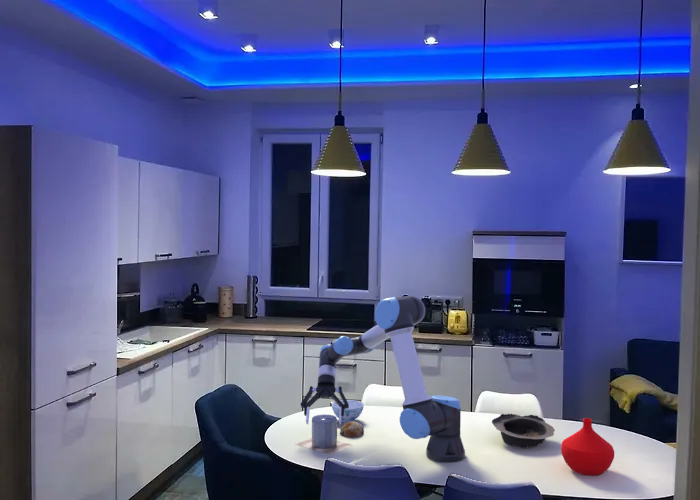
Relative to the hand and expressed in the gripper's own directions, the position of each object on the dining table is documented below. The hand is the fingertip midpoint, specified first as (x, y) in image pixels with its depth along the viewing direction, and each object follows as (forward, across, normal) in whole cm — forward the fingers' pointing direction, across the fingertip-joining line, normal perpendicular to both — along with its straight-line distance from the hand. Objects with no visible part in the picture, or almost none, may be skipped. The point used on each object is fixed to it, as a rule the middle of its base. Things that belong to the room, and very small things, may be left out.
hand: (323, 422), depth 256 cm
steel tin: (+7, 0, -5) cm, 9 cm away
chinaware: (-18, -8, -32) cm, 37 cm away
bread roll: (-2, -11, -17) cm, 20 cm away
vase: (+23, -100, +8) cm, 102 cm away
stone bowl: (+1, -83, -14) cm, 84 cm away
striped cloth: (+8, 0, -6) cm, 10 cm away
